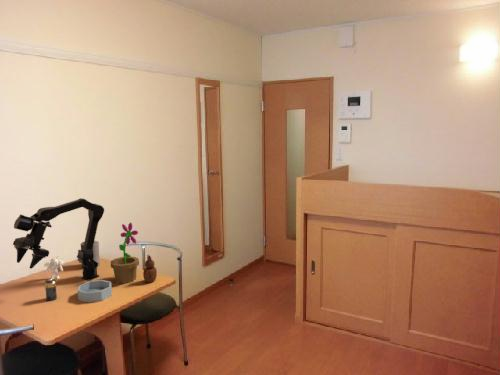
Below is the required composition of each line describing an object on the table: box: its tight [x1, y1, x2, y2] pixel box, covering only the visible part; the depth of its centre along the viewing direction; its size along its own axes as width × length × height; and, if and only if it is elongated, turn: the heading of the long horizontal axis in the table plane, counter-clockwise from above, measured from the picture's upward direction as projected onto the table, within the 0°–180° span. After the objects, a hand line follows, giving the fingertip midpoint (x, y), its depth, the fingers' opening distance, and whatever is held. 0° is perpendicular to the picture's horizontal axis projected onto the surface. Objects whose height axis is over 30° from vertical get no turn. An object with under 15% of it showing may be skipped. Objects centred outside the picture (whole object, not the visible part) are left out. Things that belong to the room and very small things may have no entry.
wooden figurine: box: [142, 254, 158, 284], centre depth 203 cm, size 7×6×15 cm
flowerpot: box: [110, 222, 140, 284], centre depth 204 cm, size 14×14×30 cm
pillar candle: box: [80, 240, 100, 269], centre depth 226 cm, size 10×10×15 cm
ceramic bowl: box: [77, 279, 113, 303], centre depth 187 cm, size 15×15×4 cm
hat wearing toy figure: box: [44, 255, 64, 280], centre depth 208 cm, size 9×4×12 cm, turn 118°
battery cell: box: [44, 278, 58, 302], centre depth 183 cm, size 4×4×10 cm
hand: (24, 265), depth 187 cm, fingers open, 9 cm apart
